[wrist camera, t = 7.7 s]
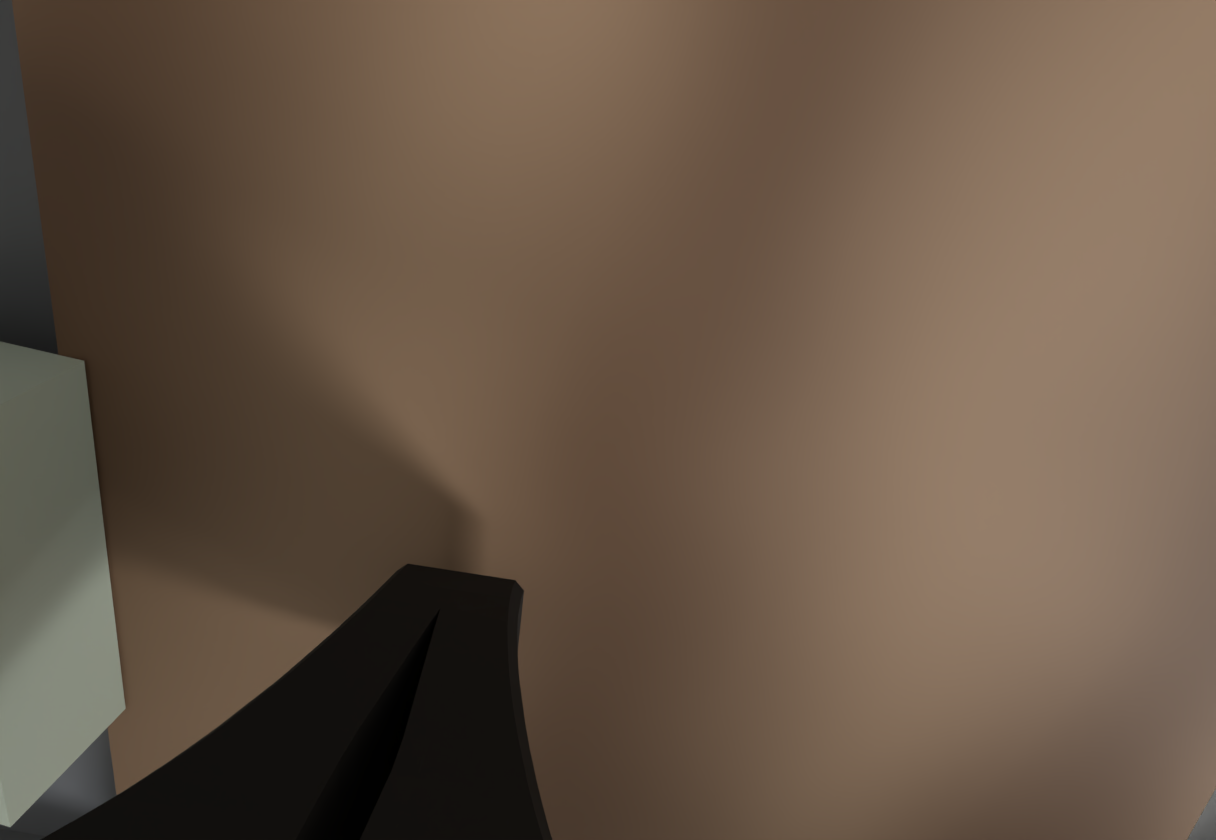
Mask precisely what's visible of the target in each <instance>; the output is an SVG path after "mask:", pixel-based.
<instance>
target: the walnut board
mask: <svg viewBox="0 0 1216 840" xmlns="http://www.w3.org/2000/svg"><path fill="white" fill-rule="evenodd" d="M12 6H13V14H14V21H15V29H16V36H17V44H18V52H19V59H20V67H21V74H22V82H23V90H24V97H25V105H26V112H27V120H28V127H29V135H30V143H31V150H32V158H33V165H34V173H35V181H36V188H37V196H38V203H39V211H40V219H41V226H42V234H43V241H44V249H45V256H46V264H47V272H48V279H49V287H50V294H51V302H52V310H53V317H54V325H55V332H56V340H57V348H58V355H61V356H66V357H70V358H74V359H79V360H83V361H84V364H85V372H86V380H87V389H88V397H89V406H90V414H91V422H92V431H93V439H94V448H95V456H96V464H97V473H98V481H99V490H100V498H101V506H102V515H103V523H104V532H105V540H106V548H107V557H108V565H109V574H110V582H111V590H112V599H113V607H114V616H115V624H116V632H117V641H118V649H119V657H120V666H121V674H122V683H123V691H124V699H125V708H126V709H125V710H124V711H123V712H122V713H121V714H120V715H119V716H118V717H117V718H116V719H115V720H114V721H113V722H112V723H111V724H110V725H109V726H108V735H109V742H110V750H111V757H112V765H113V772H114V780H115V788H116V795H118V794H120V793H121V792H123V791H124V790H126V789H128V788H129V787H131V786H132V785H134V784H135V783H137V782H138V781H140V780H141V779H143V778H145V777H146V776H148V775H149V774H151V773H152V772H154V771H155V770H157V769H158V768H160V767H161V766H163V765H164V764H166V763H167V762H169V761H170V760H172V759H173V758H175V757H176V756H178V755H179V754H180V753H182V752H183V751H185V750H186V749H188V748H189V747H190V746H192V745H193V744H195V743H196V742H197V741H199V740H200V739H202V738H203V737H204V736H206V735H207V734H209V733H210V732H211V731H213V730H214V729H215V728H217V727H218V726H220V725H221V724H222V723H223V722H225V721H226V720H227V719H228V718H230V717H231V716H232V715H234V714H235V713H236V712H237V711H239V710H240V709H241V708H243V707H244V706H245V705H246V704H248V703H249V702H250V701H252V700H253V699H254V698H255V697H257V696H258V695H259V694H261V693H262V692H263V691H264V690H266V689H267V688H268V687H269V686H271V685H272V684H273V683H275V682H276V681H277V680H278V679H279V678H281V677H282V676H283V675H284V674H285V673H287V672H288V671H289V670H290V669H291V668H292V667H294V666H295V665H296V664H297V663H298V662H299V661H300V660H302V659H303V658H304V657H305V656H306V655H307V654H308V653H310V652H311V651H312V650H313V649H314V648H315V647H316V646H318V645H319V644H320V643H321V642H322V641H323V640H325V639H326V638H327V637H328V636H329V635H330V634H331V633H332V632H334V631H335V630H336V629H337V628H338V627H339V626H340V625H341V624H342V623H343V622H344V621H345V620H346V619H348V618H349V617H350V616H351V615H352V614H353V613H354V612H355V611H356V610H357V609H358V608H359V607H360V606H361V605H362V604H364V603H365V602H366V601H367V600H368V599H369V598H370V597H371V596H372V595H373V594H374V593H375V592H376V591H377V590H378V589H379V588H380V587H381V586H382V585H383V584H384V583H385V582H386V581H387V580H388V579H389V578H390V577H391V576H392V575H393V574H394V573H395V572H396V571H397V570H399V569H400V568H402V567H403V566H405V565H406V564H414V565H421V566H427V567H434V568H440V569H447V570H453V571H459V572H466V573H472V574H479V575H485V576H492V577H498V578H505V579H511V580H516V581H517V583H518V584H519V585H520V586H521V587H522V589H523V590H524V596H523V606H522V615H521V625H520V634H519V644H518V668H519V680H520V688H521V696H522V703H523V710H524V718H525V725H526V731H527V736H528V742H529V747H530V752H531V757H532V761H533V766H534V771H535V775H536V780H537V784H538V788H539V793H540V797H541V801H542V805H543V808H544V812H545V816H546V820H547V823H548V827H549V830H550V834H551V837H552V840H1187V839H1188V837H1189V835H1190V833H1191V831H1192V830H1193V828H1194V826H1195V824H1196V823H1197V821H1198V819H1199V817H1200V815H1201V814H1202V812H1203V810H1204V808H1205V806H1206V805H1207V803H1208V801H1209V799H1210V798H1211V796H1212V794H1213V792H1214V790H1215V789H1216V0H12Z"/></svg>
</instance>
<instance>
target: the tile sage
mask: <svg viewBox="0 0 1216 840" xmlns="http://www.w3.org/2000/svg"><path fill="white" fill-rule="evenodd" d="M125 709H126V708H125V699H124V691H123V683H122V674H121V666H120V657H119V649H118V641H117V632H116V624H115V616H114V607H113V599H112V590H111V582H110V574H109V565H108V557H107V548H106V540H105V532H104V523H103V515H102V506H101V498H100V490H99V481H98V473H97V464H96V456H95V448H94V439H93V431H92V422H91V414H90V406H89V397H88V389H87V380H86V372H85V364H84V361H83V360H79V359H74V358H70V357H66V356H61V355H57V354H53V353H48V352H44V351H40V350H35V349H31V348H27V347H22V346H18V345H14V344H9V343H5V342H1V341H0V824H1V825H4V826H7V827H11V826H12V825H13V824H14V823H15V822H16V821H17V820H18V819H19V818H20V817H21V816H22V815H23V814H24V813H25V812H26V811H27V810H28V809H29V808H30V807H31V806H32V805H33V804H34V802H35V801H36V800H37V799H38V798H39V797H40V796H41V795H42V794H43V793H44V792H45V791H46V790H47V789H48V788H49V787H50V786H51V785H52V784H53V783H54V782H55V781H56V780H57V779H58V778H59V777H60V776H61V775H62V774H63V773H64V772H65V771H66V770H67V769H68V767H69V766H70V765H71V764H72V763H73V762H74V761H75V760H76V759H77V758H78V757H79V756H80V755H81V754H82V753H83V752H84V751H85V750H86V749H87V748H88V747H89V746H90V745H91V744H92V743H93V742H94V741H95V740H96V739H97V738H98V737H99V736H100V735H101V734H102V733H103V731H104V730H105V729H106V728H107V727H108V726H109V725H110V724H111V723H112V722H113V721H114V720H115V719H116V718H117V717H118V716H119V715H120V714H121V713H122V712H123V711H124V710H125Z"/></svg>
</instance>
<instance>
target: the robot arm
mask: <svg viewBox="0 0 1216 840" xmlns="http://www.w3.org/2000/svg"><path fill="white" fill-rule="evenodd" d="M523 596H524V590H523V589H522V587H521V586H520V585H519V584H518V583H517V581H516V580H511V579H505V578H498V577H492V576H485V575H479V574H472V573H466V572H459V571H453V570H447V569H440V568H434V567H427V566H421V565H414V564H406V565H405V566H403V567H402V568H400V569H399V570H397V571H396V572H395V573H394V574H393V575H392V576H391V577H390V578H389V579H388V580H387V581H386V582H385V583H384V584H383V585H382V586H381V587H380V588H379V589H378V590H377V591H376V592H375V593H374V594H373V595H372V596H371V597H370V598H369V599H368V600H367V601H366V602H365V603H364V604H362V605H361V606H360V607H359V608H358V609H357V610H356V611H355V612H354V613H353V614H352V615H351V616H350V617H349V618H348V619H346V620H345V621H344V622H343V623H342V624H341V625H340V626H339V627H338V628H337V629H336V630H335V631H334V632H332V633H331V634H330V635H329V636H328V637H327V638H326V639H325V640H323V641H322V642H321V643H320V644H319V645H318V646H316V647H315V648H314V649H313V650H312V651H311V652H310V653H308V654H307V655H306V656H305V657H304V658H303V659H302V660H300V661H299V662H298V663H297V664H296V665H295V666H294V667H292V668H291V669H290V670H289V671H288V672H287V673H285V674H284V675H283V676H282V677H281V678H279V679H278V680H277V681H276V682H275V683H273V684H272V685H271V686H269V687H268V688H267V689H266V690H264V691H263V692H262V693H261V694H259V695H258V696H257V697H255V698H254V699H253V700H252V701H250V702H249V703H248V704H246V705H245V706H244V707H243V708H241V709H240V710H239V711H237V712H236V713H235V714H234V715H232V716H231V717H230V718H228V719H227V720H226V721H225V722H223V723H222V724H221V725H220V726H218V727H217V728H215V729H214V730H213V731H211V732H210V733H209V734H207V735H206V736H204V737H203V738H202V739H200V740H199V741H197V742H196V743H195V744H193V745H192V746H190V747H189V748H188V749H186V750H185V751H183V752H182V753H180V754H179V755H178V756H176V757H175V758H173V759H172V760H170V761H169V762H167V763H166V764H164V765H163V766H161V767H160V768H158V769H157V770H155V771H154V772H152V773H151V774H149V775H148V776H146V777H145V778H143V779H141V780H140V781H138V782H137V783H135V784H134V785H132V786H131V787H129V788H128V789H126V790H124V791H123V792H121V793H120V794H118V795H116V796H115V797H113V798H111V799H110V800H108V801H106V802H104V803H103V804H101V805H99V806H98V807H96V808H94V809H93V810H91V811H89V812H88V813H86V814H84V815H83V816H81V817H79V818H77V819H76V820H74V821H72V822H70V823H69V824H67V825H65V826H63V827H62V828H60V829H58V830H56V831H55V832H53V833H51V834H49V835H47V836H46V837H44V838H42V839H40V840H552V837H551V834H550V830H549V827H548V823H547V820H546V816H545V812H544V808H543V805H542V801H541V797H540V793H539V788H538V784H537V780H536V775H535V771H534V766H533V761H532V757H531V752H530V747H529V742H528V736H527V731H526V725H525V718H524V710H523V703H522V696H521V688H520V680H519V668H518V644H519V634H520V625H521V615H522V606H523Z"/></svg>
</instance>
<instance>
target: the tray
mask: <svg viewBox="0 0 1216 840" xmlns="http://www.w3.org/2000/svg"><path fill="white" fill-rule="evenodd" d="M0 341H1V342H5V343H9V344H14V345H18V346H22V347H27V348H31V349H35V350H40V351H44V352H48V353H53V354H57V355H58V348H57V340H56V332H55V325H54V317H53V310H52V302H51V294H50V287H49V279H48V272H47V264H46V256H45V249H44V241H43V234H42V226H41V219H40V211H39V203H38V196H37V188H36V181H35V173H34V165H33V158H32V150H31V143H30V135H29V127H28V120H27V112H26V105H25V97H24V90H23V82H22V74H21V67H20V59H19V52H18V44H17V36H16V29H15V21H14V14H13V6H12V0H0ZM115 796H116V788H115V780H114V772H113V765H112V757H111V750H110V742H109V735H108V727H107V728H106V729H105V730H104V731H103V733H102V734H101V735H100V736H99V737H98V738H97V739H96V740H95V741H94V742H93V743H92V744H91V745H90V746H89V747H88V748H87V749H86V750H85V751H84V752H83V753H82V754H81V755H80V756H79V757H78V758H77V759H76V760H75V761H74V762H73V763H72V764H71V765H70V766H69V767H68V769H67V770H66V771H65V772H64V773H63V774H62V775H61V776H60V777H59V778H58V779H57V780H56V781H55V782H54V783H53V784H52V785H51V786H50V787H49V788H48V789H47V790H46V791H45V792H44V793H43V794H42V795H41V796H40V797H39V798H38V799H37V800H36V801H35V802H34V804H33V805H32V806H31V807H30V808H29V809H28V810H27V811H26V812H25V813H24V814H23V815H22V816H21V817H20V818H19V819H18V820H17V821H16V822H15V823H14V824H13V825H12V826H11V827H7V826H4V825H1V824H0V840H40V839H42V838H44V837H46V836H47V835H49V834H51V833H53V832H55V831H56V830H58V829H60V828H62V827H63V826H65V825H67V824H69V823H70V822H72V821H74V820H76V819H77V818H79V817H81V816H83V815H84V814H86V813H88V812H89V811H91V810H93V809H94V808H96V807H98V806H99V805H101V804H103V803H104V802H106V801H108V800H110V799H111V798H113V797H115Z"/></svg>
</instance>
